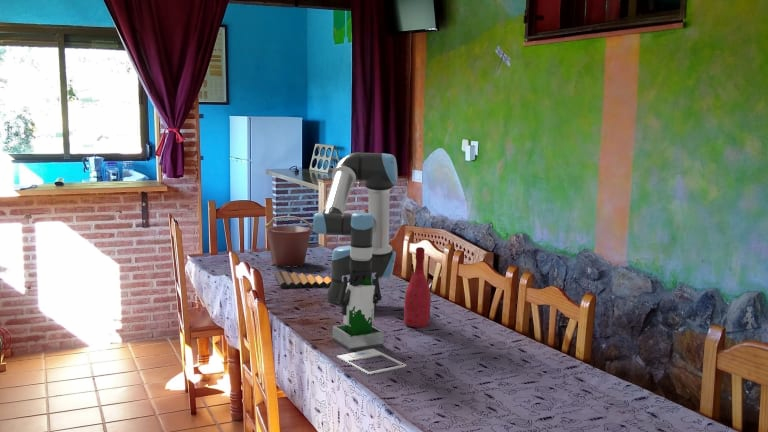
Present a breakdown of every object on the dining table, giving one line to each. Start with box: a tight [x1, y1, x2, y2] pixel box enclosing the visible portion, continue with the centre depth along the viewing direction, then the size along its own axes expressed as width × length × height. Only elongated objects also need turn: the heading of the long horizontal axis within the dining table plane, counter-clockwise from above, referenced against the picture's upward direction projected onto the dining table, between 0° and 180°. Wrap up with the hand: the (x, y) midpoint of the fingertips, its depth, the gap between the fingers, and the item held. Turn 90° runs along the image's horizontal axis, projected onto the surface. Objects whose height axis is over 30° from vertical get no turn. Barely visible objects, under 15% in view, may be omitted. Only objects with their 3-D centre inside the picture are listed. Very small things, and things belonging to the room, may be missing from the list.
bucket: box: [264, 215, 314, 268], centre depth 365 cm, size 24×22×25 cm
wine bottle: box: [403, 246, 432, 329], centre depth 266 cm, size 10×10×30 cm
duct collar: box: [332, 324, 385, 352], centre depth 243 cm, size 13×13×5 cm
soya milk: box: [344, 278, 375, 336], centre depth 242 cm, size 9×9×20 cm
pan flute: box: [273, 269, 332, 289], centre depth 330 cm, size 25×3×25 cm
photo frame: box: [336, 348, 407, 375], centre depth 226 cm, size 15×1×18 cm
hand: (358, 322), depth 243 cm, fingers closed on soya milk, 9 cm apart
